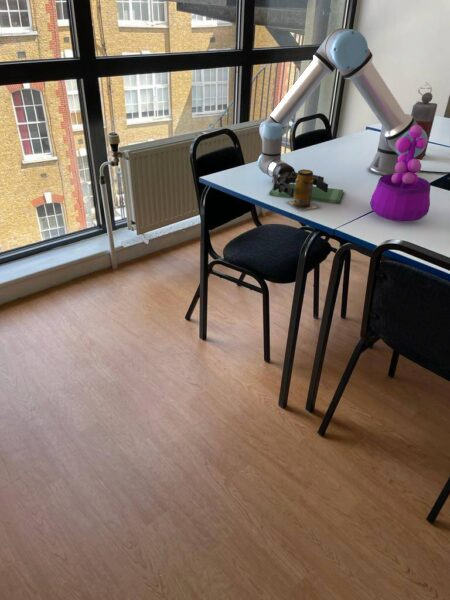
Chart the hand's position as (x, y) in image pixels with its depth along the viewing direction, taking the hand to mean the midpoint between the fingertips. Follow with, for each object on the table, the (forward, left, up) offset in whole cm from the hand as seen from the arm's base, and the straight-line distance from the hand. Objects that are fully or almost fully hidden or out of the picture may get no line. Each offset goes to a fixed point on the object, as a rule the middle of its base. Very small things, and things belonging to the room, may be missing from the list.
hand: (310, 190), depth 158 cm
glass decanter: (-36, -85, -7) cm, 92 cm away
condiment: (+2, -2, -7) cm, 7 cm away
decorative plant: (-30, -3, -7) cm, 31 cm away
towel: (+3, -15, -7) cm, 16 cm away
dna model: (-35, -100, -7) cm, 106 cm away
